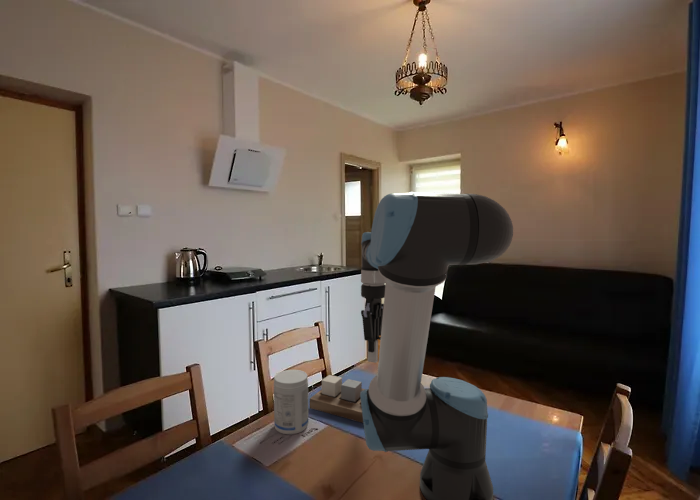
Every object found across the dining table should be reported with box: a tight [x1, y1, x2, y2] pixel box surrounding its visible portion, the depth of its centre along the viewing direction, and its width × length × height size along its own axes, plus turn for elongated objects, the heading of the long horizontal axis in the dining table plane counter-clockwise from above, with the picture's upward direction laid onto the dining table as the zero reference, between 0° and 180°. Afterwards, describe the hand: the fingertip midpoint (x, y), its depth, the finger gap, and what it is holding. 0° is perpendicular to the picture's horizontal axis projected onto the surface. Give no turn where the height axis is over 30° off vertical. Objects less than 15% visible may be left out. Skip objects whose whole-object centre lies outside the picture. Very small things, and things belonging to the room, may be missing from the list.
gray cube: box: [341, 378, 363, 403], centre depth 114 cm, size 5×5×4 cm
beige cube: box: [321, 374, 343, 398], centre depth 117 cm, size 5×5×4 cm
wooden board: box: [309, 388, 366, 423], centre depth 114 cm, size 14×22×3 cm, turn 64°
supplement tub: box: [273, 369, 309, 435], centre depth 102 cm, size 10×10×15 cm
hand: (372, 361), depth 110 cm, fingers closed
